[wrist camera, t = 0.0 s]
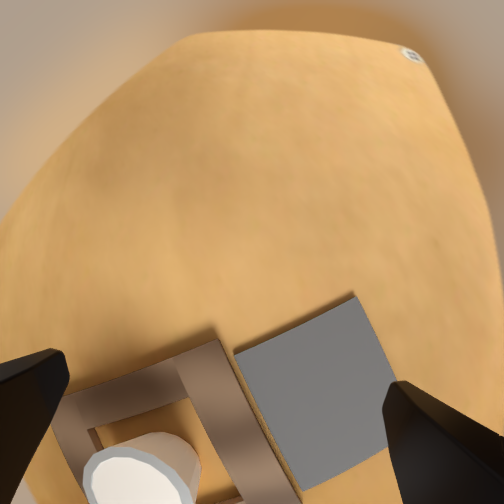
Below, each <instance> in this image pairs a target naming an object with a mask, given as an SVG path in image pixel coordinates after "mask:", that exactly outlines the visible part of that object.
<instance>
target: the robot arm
mask: <svg viewBox="0 0 504 504" xmlns="http://www.w3.org/2000/svg"><path fill="white" fill-rule="evenodd" d="M69 379H70V375H69V371H68V367H67V363H66V359H65V355H64V353H63V352H62V351H60V350H57V349H53V348H49V349H46V350H43V351H40V352H36V353H33V354H30V355H27V356H24V357H21V358H17V359H14V360H11V361H8V362H4V363H1V364H0V504H11V501H12V499H13V497H14V495H15V493H16V490H17V488H18V486H19V484H20V482H21V480H22V478H23V476H24V474H25V472H26V469H27V467H28V465H29V463H30V461H31V460H32V458H33V456H34V454H35V452H36V450H37V448H38V446H39V444H40V442H41V440H42V438H43V437H44V435H45V433H46V431H47V429H48V427H49V425H50V424H51V422H52V419H53V417H54V415H55V413H56V410H57V408H58V406H59V403H60V401H61V399H62V396H63V394H64V392H65V390H66V387H67V385H68V383H69ZM382 415H383V420H384V425H385V431H386V436H387V442H388V448H389V453H390V458H391V462H392V466H393V469H394V472H395V476H396V479H397V483H398V487H399V490H400V494H401V498H402V501H403V504H504V437H503V436H499V434H497V433H496V432H494V431H492V430H490V429H488V428H487V427H485V426H483V425H481V424H480V423H478V422H476V421H474V420H473V419H471V418H469V417H467V416H466V415H464V414H462V413H460V412H459V411H457V410H455V409H453V408H452V407H450V406H448V405H446V404H445V403H443V402H441V401H440V400H438V399H436V398H434V397H433V396H431V395H429V394H428V393H426V392H424V391H423V390H421V389H419V388H418V387H416V386H414V385H413V384H411V383H409V382H407V381H393V382H392V383H391V384H390V386H389V388H388V391H387V394H386V397H385V399H384V402H383V405H382Z"/></svg>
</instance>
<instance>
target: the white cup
mask: <svg viewBox="0 0 504 504" xmlns="http://www.w3.org/2000/svg"><path fill="white" fill-rule="evenodd" d="M201 470H202V468H201V464H200V460H199V456H198V455H197V453H196V452H195V450H194V449H193V448H192V446H191V445H190V444H189V443H187V442H186V441H184V440H183V439H182V438H180V437H179V436H176V435H173V434H170V433H166V432H150V433H148V434H145V435H142V436H139V437H137V438H134V439H131V440H128V441H125V442H123V443H120V444H117V445H114V446H111V447H108V448H106V449H104V450H101V451H99V452H97V453H95V454H93V455H92V457H91V458H90V460H89V461H88V462H87V464H86V465H85V467H84V474H83V487H84V490H85V493H86V496H87V499H88V501H89V503H90V504H195V503H196V497H197V492H198V486H199V481H200V475H201Z"/></svg>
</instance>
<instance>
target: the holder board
mask: <svg viewBox="0 0 504 504" xmlns="http://www.w3.org/2000/svg"><path fill="white" fill-rule="evenodd" d="M187 397H189V398H190V400H191V402H192V404H193V406H194V408H195V410H196V412H197V414H198V417H199V419H200V421H201V423H202V425H203V427H204V429H205V431H206V433H207V435H208V437H209V439H210V441H211V442H212V444H213V446H214V448H215V450H216V452H217V454H218V456H219V458H220V459H221V461H222V463H223V465H224V467H225V468H226V470H227V472H228V474H229V476H230V477H231V479H232V481H233V483H234V484H235V486H236V488H237V489H238V491H239V493H240V494H241V496H238V497H235V498H232V499H229V500H225V501H222V502H219V503H215V504H302V502H301V500H300V499H299V497H298V495H297V493H296V492H295V490H294V488H293V486H292V485H291V483H290V481H289V479H288V477H287V476H286V474H285V472H284V470H283V468H282V466H281V465H280V463H279V461H278V459H277V457H276V455H275V453H274V451H273V450H272V448H271V446H270V444H269V442H268V440H267V438H266V436H265V434H264V432H263V430H262V428H261V426H260V424H259V422H258V420H257V418H256V416H255V414H254V412H253V410H252V408H251V406H250V404H249V402H248V400H247V398H246V396H245V394H244V392H243V390H242V388H241V386H240V383H239V381H238V379H237V377H236V375H235V373H234V371H233V369H232V366H231V364H230V362H229V360H228V358H227V356H226V353H225V351H224V349H223V347H222V344H221V342H220V340H219V339H215V340H213V341H211V342H208V343H206V344H203V345H201V346H199V347H196V348H194V349H191V350H189V351H186V352H184V353H182V354H179V355H177V356H174V357H172V358H169V359H166V360H164V361H161V362H159V363H156V364H154V365H151V366H148V367H146V368H143V369H140V370H138V371H135V372H132V373H130V374H127V375H124V376H122V377H119V378H116V379H113V380H110V381H108V382H105V383H102V384H99V385H96V386H93V387H90V388H87V389H84V390H81V391H78V392H75V393H72V394H69V395H66V396H63V397H62V399H61V401H60V403H59V406H58V408H57V410H56V413H55V415H54V417H53V419H52V422H51V427H52V429H53V432H54V434H55V436H56V439H57V441H58V443H59V446H60V448H61V450H62V452H63V454H64V456H65V459H66V461H67V463H68V465H69V467H70V469H71V471H72V473H73V475H74V477H75V479H76V480H77V482H78V484H79V486H80V488H81V490H82V491H83V493H84V495H85V497H86V498H87V496H86V493H85V490H84V487H83V474H84V467H85V465H86V464H87V462H88V461H89V460H90V458H91V457H92V455H93V454H95V453H97V452H99V451H101V450H104V448H103V446H102V444H101V442H100V440H99V438H98V436H97V433H96V431H95V429H94V427H97V426H101V425H105V424H108V423H112V422H115V421H118V420H122V419H125V418H128V417H131V416H135V415H138V414H141V413H144V412H147V411H150V410H153V409H156V408H159V407H162V406H165V405H167V404H170V403H173V402H176V401H179V400H181V399H184V398H187ZM87 500H88V499H87ZM88 502H89V501H88ZM89 504H90V503H89Z"/></svg>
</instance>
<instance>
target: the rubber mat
mask: <svg viewBox="0 0 504 504" xmlns="http://www.w3.org/2000/svg"><path fill="white" fill-rule="evenodd" d="M234 357H235V359H236V361H237V364H238V366H239V368H240V370H241V372H242V374H243V376H244V379H245V381H246V383H247V385H248V387H249V389H250V391H251V393H252V395H253V397H254V399H255V401H256V403H257V405H258V408H259V410H260V412H261V414H262V416H263V418H264V420H265V422H266V424H267V426H268V428H269V429H270V431H271V433H272V435H273V437H274V439H275V441H276V443H277V445H278V447H279V449H280V451H281V453H282V455H283V456H284V458H285V460H286V462H287V464H288V466H289V468H290V470H291V471H292V473H293V475H294V477H295V479H296V481H297V482H298V484H299V486H300V488H301V490H302V491H305V490H308V489H310V488H312V487H314V486H316V485H318V484H321V483H323V482H325V481H327V480H329V479H331V478H333V477H335V476H337V475H339V474H341V473H343V472H345V471H346V470H348V469H350V468H352V467H354V466H356V465H357V464H359V463H361V462H363V461H364V460H366V459H368V458H370V457H371V456H373V455H375V454H376V453H378V452H380V451H381V450H383V449H384V448H386V447H388V442H387V436H386V431H385V425H384V420H383V415H382V405H383V402H384V399H385V397H386V394H387V391H388V388H389V386H390V384H391V383H392V382H393V381H397V380H396V377H395V375H394V373H393V371H392V369H391V366H390V364H389V362H388V360H387V358H386V355H385V353H384V351H383V349H382V347H381V345H380V343H379V340H378V338H377V336H376V334H375V332H374V330H373V328H372V326H371V324H370V322H369V320H368V318H367V316H366V314H365V312H364V310H363V308H362V306H361V304H360V302H359V300H358V298H357V296H356V297H354V298H352V299H350V300H348V301H347V302H345V303H343V304H341V305H339V306H337V307H335V308H333V309H331V310H329V311H327V312H325V313H323V314H321V315H319V316H318V317H316V318H314V319H312V320H309V321H307V322H305V323H303V324H301V325H299V326H297V327H295V328H293V329H291V330H289V331H287V332H285V333H283V334H280V335H278V336H276V337H274V338H272V339H270V340H268V341H265V342H263V343H261V344H259V345H257V346H254V347H252V348H250V349H248V350H245V351H243V352H241V353H238V354H236V355H234Z"/></svg>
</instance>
